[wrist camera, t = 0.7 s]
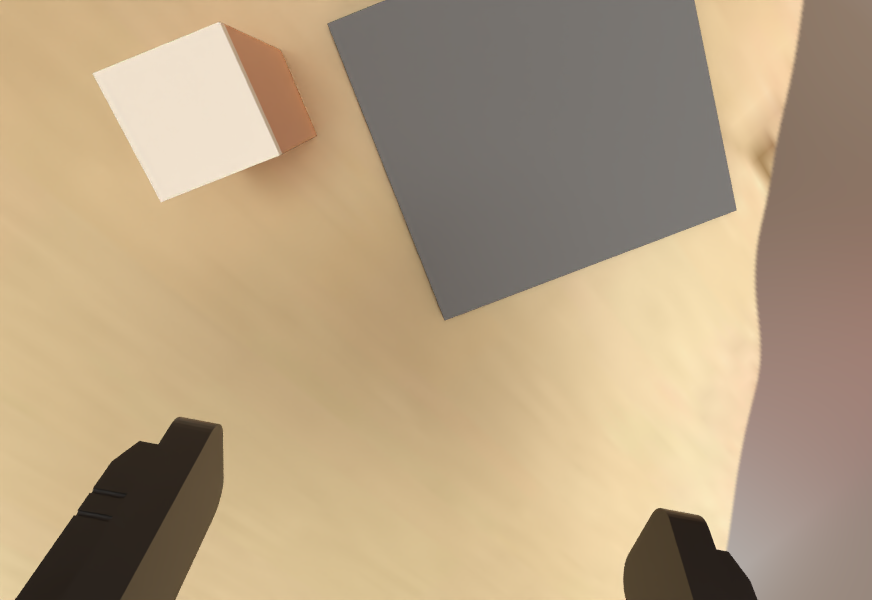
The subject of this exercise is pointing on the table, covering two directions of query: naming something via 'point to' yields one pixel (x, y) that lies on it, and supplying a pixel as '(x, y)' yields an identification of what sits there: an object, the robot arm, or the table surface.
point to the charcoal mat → (536, 132)
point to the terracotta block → (205, 107)
